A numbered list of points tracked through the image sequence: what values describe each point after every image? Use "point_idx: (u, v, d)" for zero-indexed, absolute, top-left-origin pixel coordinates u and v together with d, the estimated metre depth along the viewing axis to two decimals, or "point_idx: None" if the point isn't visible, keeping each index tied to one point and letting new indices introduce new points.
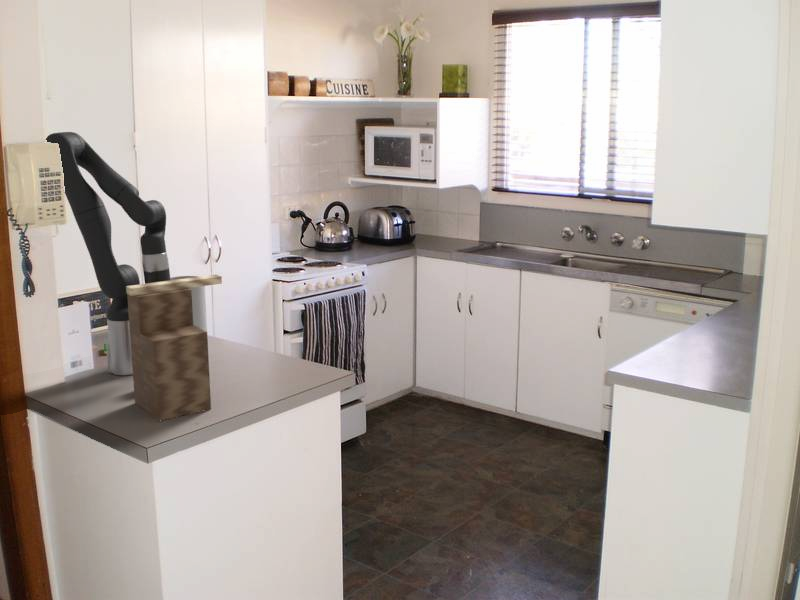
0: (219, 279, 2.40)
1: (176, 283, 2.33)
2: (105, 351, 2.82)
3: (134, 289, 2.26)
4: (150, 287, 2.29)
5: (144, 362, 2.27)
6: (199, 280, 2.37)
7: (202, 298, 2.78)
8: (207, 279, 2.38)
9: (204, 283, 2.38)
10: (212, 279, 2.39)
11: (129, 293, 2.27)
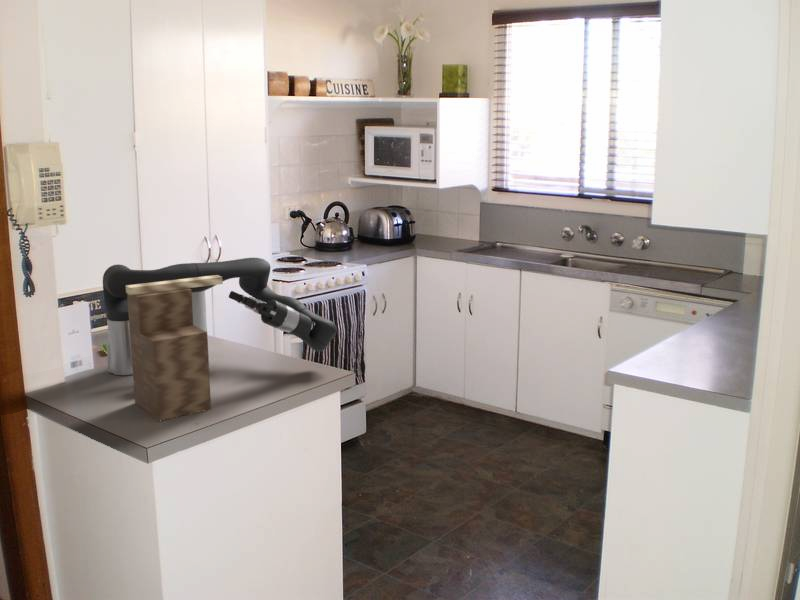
0: (220, 279, 2.40)
1: (176, 283, 2.33)
2: None
3: (133, 288, 2.27)
4: (149, 287, 2.29)
5: (144, 362, 2.27)
6: (199, 280, 2.37)
7: (202, 298, 2.78)
8: (207, 279, 2.38)
9: (204, 283, 2.37)
10: (213, 279, 2.39)
11: (128, 292, 2.27)
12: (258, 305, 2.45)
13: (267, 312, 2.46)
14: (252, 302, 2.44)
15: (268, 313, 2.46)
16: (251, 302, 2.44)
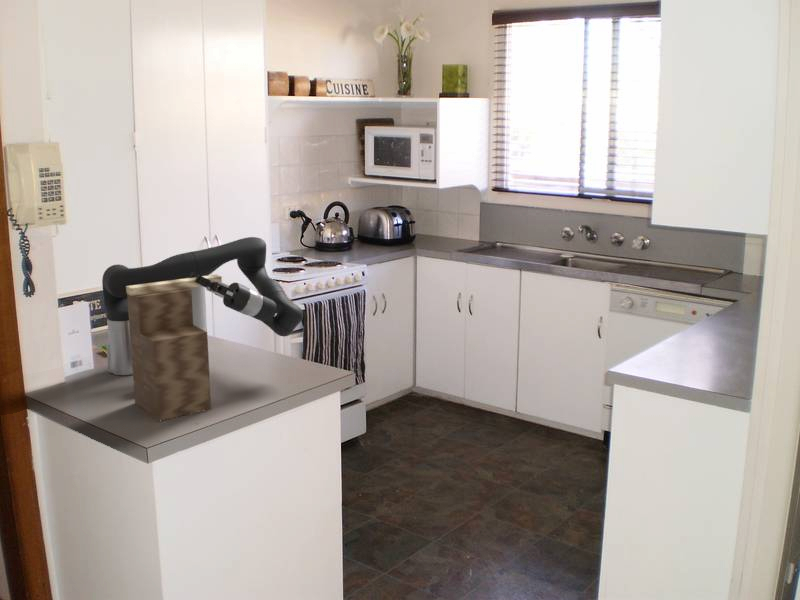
0: (219, 279, 2.40)
1: (176, 283, 2.33)
2: None
3: (134, 289, 2.26)
4: (150, 287, 2.29)
5: (144, 362, 2.27)
6: None
7: (202, 298, 2.78)
8: None
9: None
10: (212, 279, 2.39)
11: (129, 293, 2.27)
12: (212, 284, 2.37)
13: (222, 292, 2.37)
14: (206, 281, 2.37)
15: (223, 293, 2.37)
16: (205, 281, 2.36)
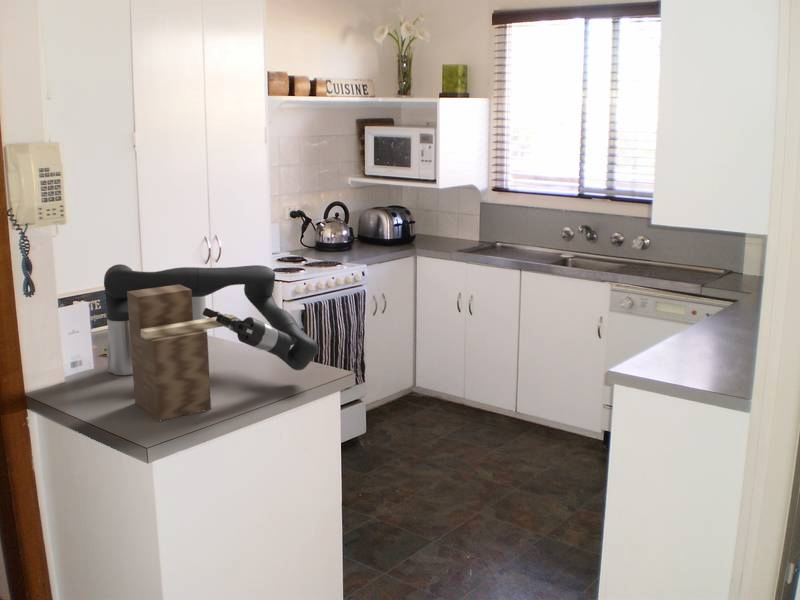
0: None
1: (191, 325, 2.29)
2: None
3: (149, 332, 2.22)
4: (165, 330, 2.24)
5: (144, 362, 2.27)
6: (214, 321, 2.33)
7: (202, 298, 2.78)
8: None
9: (219, 324, 2.34)
10: None
11: (143, 336, 2.22)
12: (233, 323, 2.31)
13: (243, 330, 2.33)
14: (227, 320, 2.31)
15: (244, 331, 2.33)
16: (226, 320, 2.31)
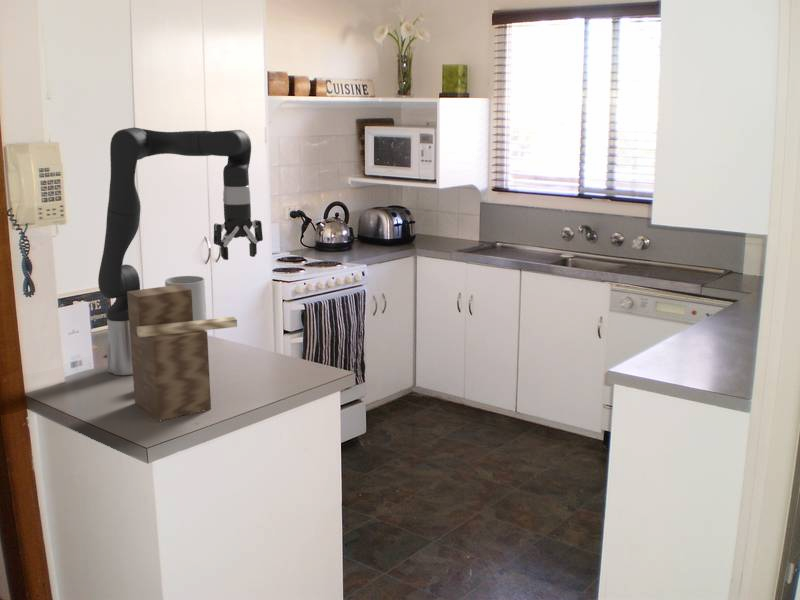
0: (234, 322, 2.33)
1: (187, 325, 2.28)
2: None
3: (142, 330, 2.24)
4: (159, 329, 2.25)
5: (144, 362, 2.27)
6: (212, 323, 2.31)
7: (202, 298, 2.78)
8: (221, 322, 2.32)
9: (217, 326, 2.32)
10: (226, 322, 2.33)
11: (138, 334, 2.25)
12: None
13: None
14: None
15: None
16: None
